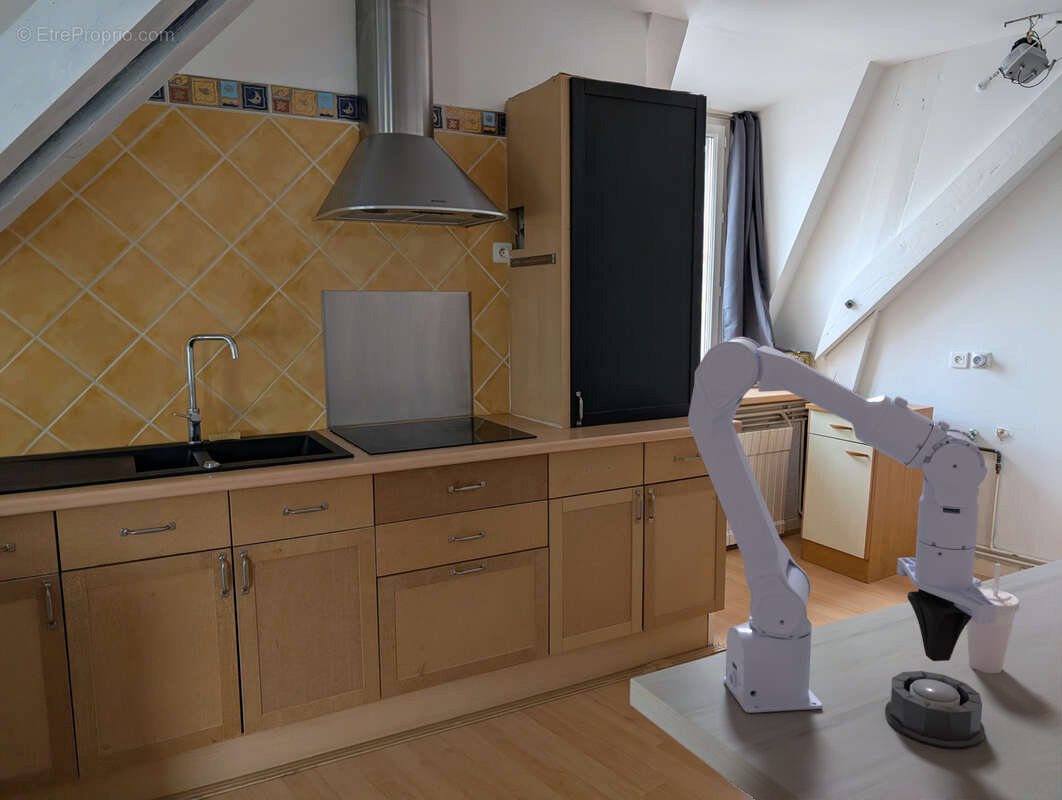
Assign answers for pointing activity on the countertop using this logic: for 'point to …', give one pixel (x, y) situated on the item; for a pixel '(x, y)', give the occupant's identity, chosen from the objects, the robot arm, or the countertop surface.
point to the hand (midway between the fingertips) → (937, 658)
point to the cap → (935, 692)
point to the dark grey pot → (935, 714)
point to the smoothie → (992, 630)
